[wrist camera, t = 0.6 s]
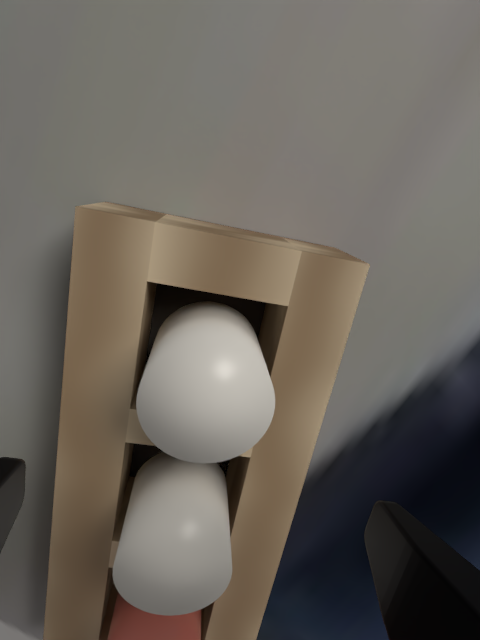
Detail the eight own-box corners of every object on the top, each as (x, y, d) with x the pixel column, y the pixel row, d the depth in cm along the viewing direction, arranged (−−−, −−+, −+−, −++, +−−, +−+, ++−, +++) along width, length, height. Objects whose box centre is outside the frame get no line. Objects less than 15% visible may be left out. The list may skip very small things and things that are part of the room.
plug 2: (234, 455, 17) (242, 532, 13) (217, 528, 18) (220, 619, 14) (139, 443, 16) (119, 520, 13) (128, 520, 18) (106, 611, 14)
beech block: (335, 247, 18) (370, 264, 14) (237, 603, 24) (243, 680, 20) (105, 201, 16) (75, 206, 13) (68, 591, 23) (40, 671, 19)
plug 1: (268, 311, 15) (289, 353, 11) (246, 403, 16) (258, 470, 12) (161, 292, 14) (145, 330, 11) (147, 390, 16) (128, 455, 12)
